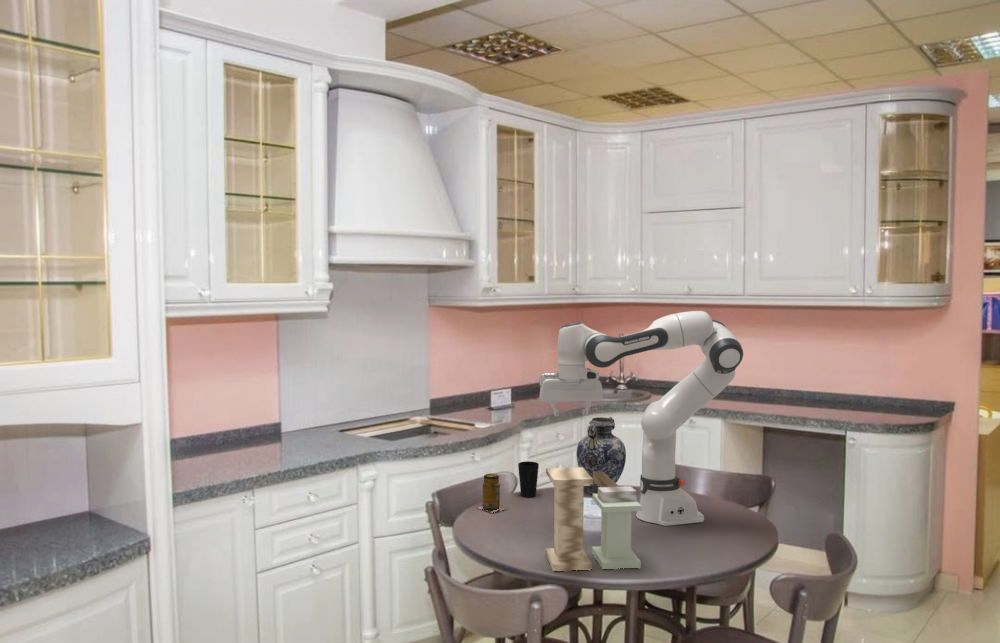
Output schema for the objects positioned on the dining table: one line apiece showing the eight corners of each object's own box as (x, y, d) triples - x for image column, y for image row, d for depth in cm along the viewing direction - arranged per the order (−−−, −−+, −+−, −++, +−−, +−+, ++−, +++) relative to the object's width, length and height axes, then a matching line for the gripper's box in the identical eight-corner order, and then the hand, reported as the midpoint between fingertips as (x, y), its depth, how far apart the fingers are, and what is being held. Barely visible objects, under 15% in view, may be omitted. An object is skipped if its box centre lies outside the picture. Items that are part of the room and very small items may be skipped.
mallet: (612, 479, 247) (612, 470, 247) (636, 501, 225) (636, 490, 225) (581, 481, 246) (581, 471, 246) (602, 502, 223) (602, 492, 223)
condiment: (492, 504, 282) (493, 471, 281) (508, 510, 275) (508, 476, 274) (476, 508, 277) (476, 474, 276) (491, 514, 271) (491, 479, 270)
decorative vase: (589, 481, 312) (590, 411, 310) (633, 488, 303) (635, 417, 300) (565, 495, 294) (567, 421, 291) (612, 503, 284) (614, 427, 282)
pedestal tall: (581, 553, 233) (582, 467, 231) (591, 570, 220) (592, 479, 218) (545, 555, 232) (546, 468, 230) (553, 571, 219) (553, 480, 217)
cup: (527, 491, 298) (528, 460, 297) (542, 495, 293) (543, 463, 292) (513, 495, 293) (513, 463, 292) (528, 499, 287) (528, 467, 287)
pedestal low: (628, 551, 235) (628, 492, 233) (640, 568, 222) (641, 505, 220) (591, 553, 233) (592, 493, 232) (602, 569, 220) (603, 506, 219)
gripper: (540, 374, 248) (540, 417, 249) (604, 373, 251) (603, 416, 251) (537, 372, 254) (537, 414, 255) (599, 371, 257) (599, 413, 258)
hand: (570, 415), depth 253 cm, fingers open, 8 cm apart
